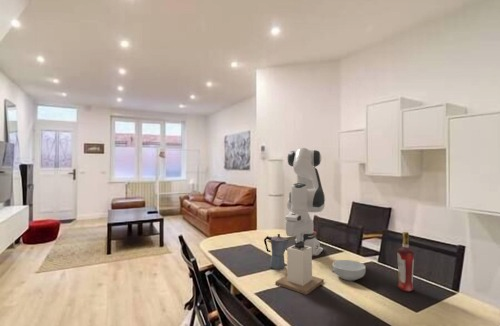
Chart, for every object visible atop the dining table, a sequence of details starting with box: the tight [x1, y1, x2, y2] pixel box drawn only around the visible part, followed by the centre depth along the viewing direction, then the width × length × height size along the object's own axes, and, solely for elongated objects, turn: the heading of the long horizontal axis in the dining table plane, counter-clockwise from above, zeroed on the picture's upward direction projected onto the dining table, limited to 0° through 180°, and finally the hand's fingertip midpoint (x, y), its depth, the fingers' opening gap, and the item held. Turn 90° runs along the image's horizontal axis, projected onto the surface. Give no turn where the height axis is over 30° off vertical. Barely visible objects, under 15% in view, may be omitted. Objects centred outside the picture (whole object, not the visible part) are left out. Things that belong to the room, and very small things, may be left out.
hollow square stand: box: [274, 244, 325, 295], centre depth 148 cm, size 18×18×18 cm
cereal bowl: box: [332, 259, 367, 282], centre depth 155 cm, size 17×17×7 cm
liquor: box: [396, 231, 415, 293], centre depth 140 cm, size 7×7×28 cm
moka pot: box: [263, 233, 290, 271], centre depth 171 cm, size 10×15×20 cm, turn 78°
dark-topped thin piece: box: [294, 240, 304, 250], centre depth 148 cm, size 6×6×17 cm
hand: (299, 241), depth 148 cm, fingers closed, pressing on dark-topped thin piece
